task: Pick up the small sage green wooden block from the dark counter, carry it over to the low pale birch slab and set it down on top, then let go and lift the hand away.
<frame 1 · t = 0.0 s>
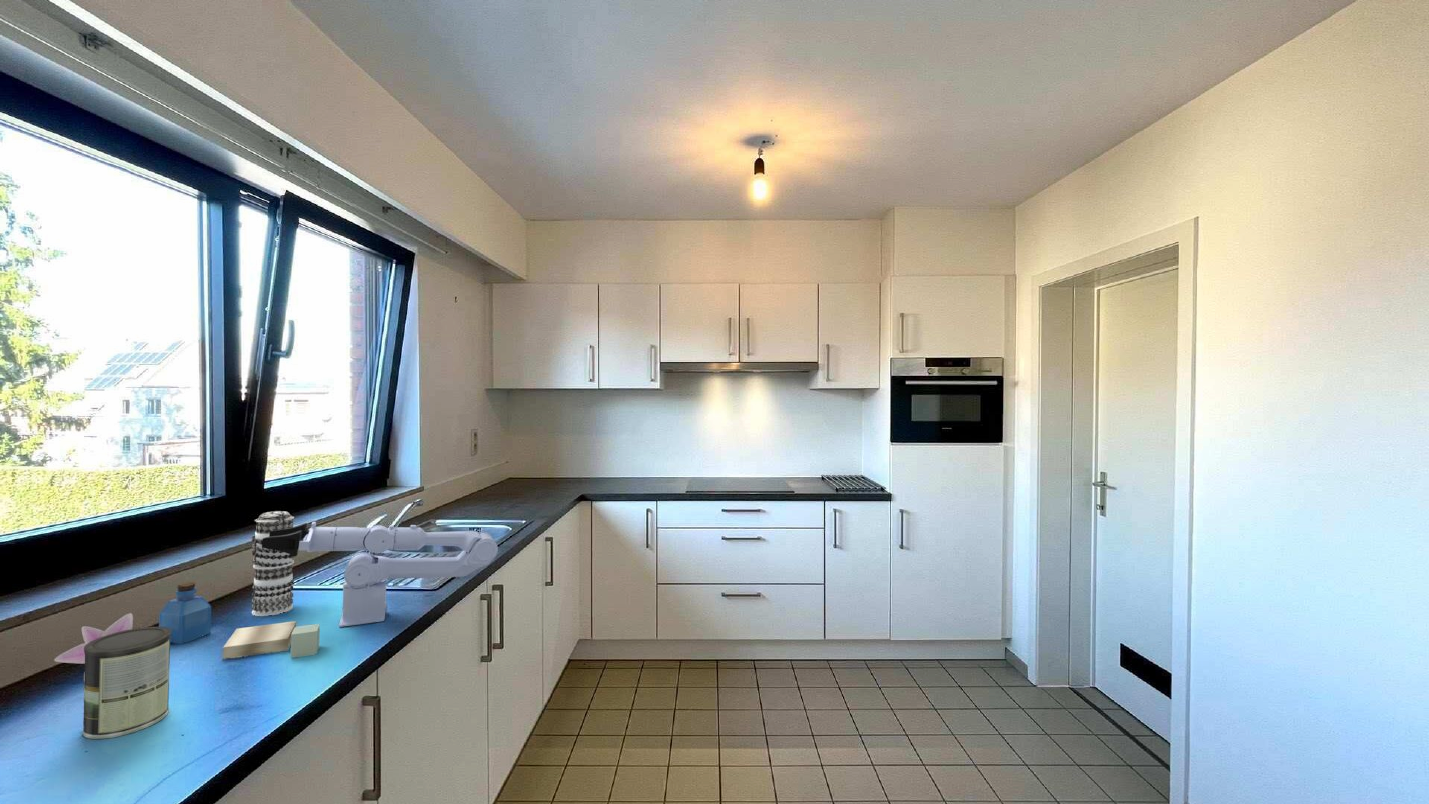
hand: (265, 539, 134), 22 cm above the countertop, tool horizontal, fingers open, 7 cm apart
perfume bottle: (185, 638, 131), on the countertop
sage block: (305, 652, 125), on the countertop
coffee can: (127, 723, 97), on the countertop
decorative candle: (272, 611, 148), on the countertop
birch slab: (261, 647, 128), on the countertop
lily: (106, 673, 114), on the countertop
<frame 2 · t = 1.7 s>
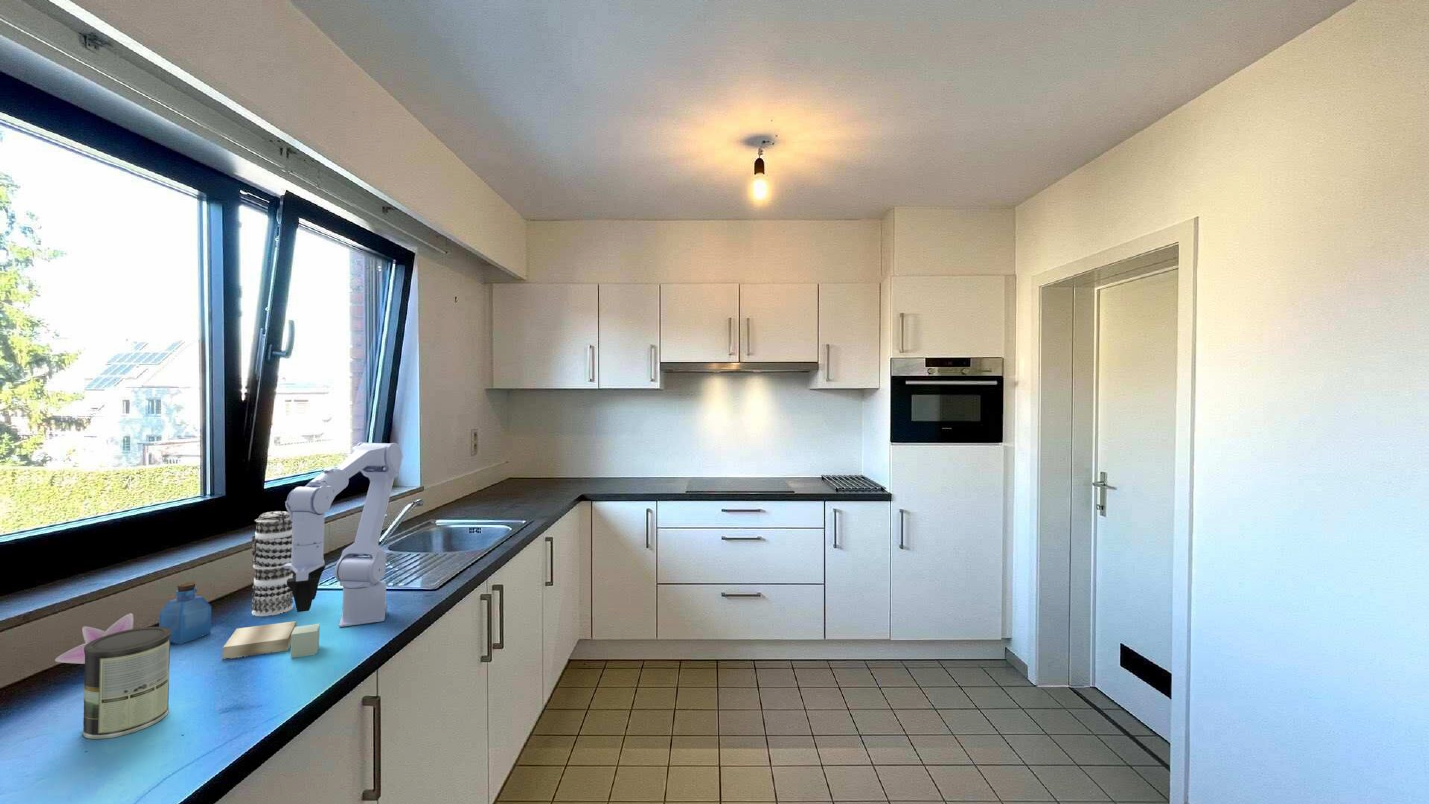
hand: (306, 605, 125), 10 cm above the countertop, tool pointing down, fingers open, 7 cm apart
nothing on the countertop moved.
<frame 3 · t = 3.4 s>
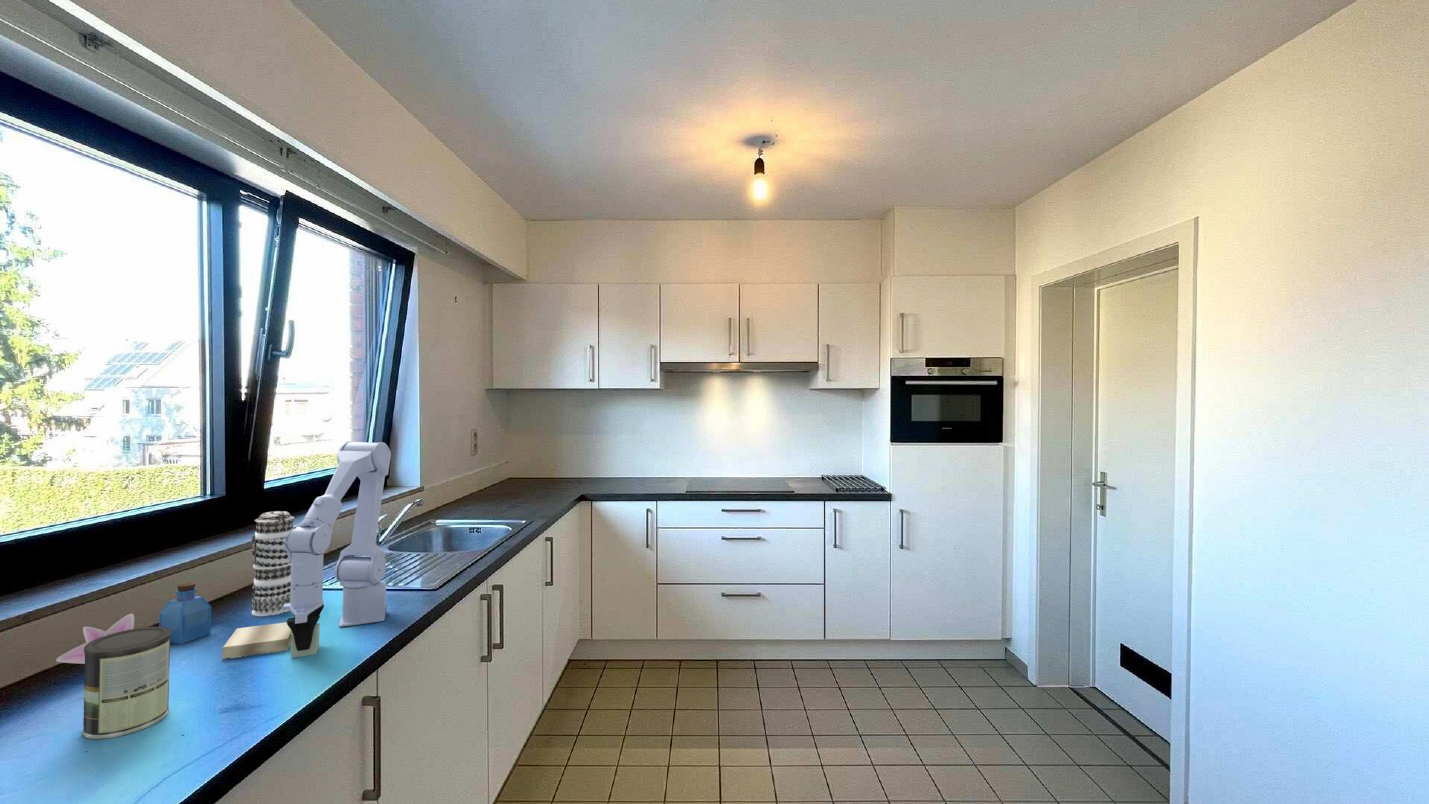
hand: (305, 645, 125), 1 cm above the countertop, tool pointing down, fingers closed on sage block, 4 cm apart
sage block: (305, 651, 125), on the countertop, touching gripper
everything else where it was.
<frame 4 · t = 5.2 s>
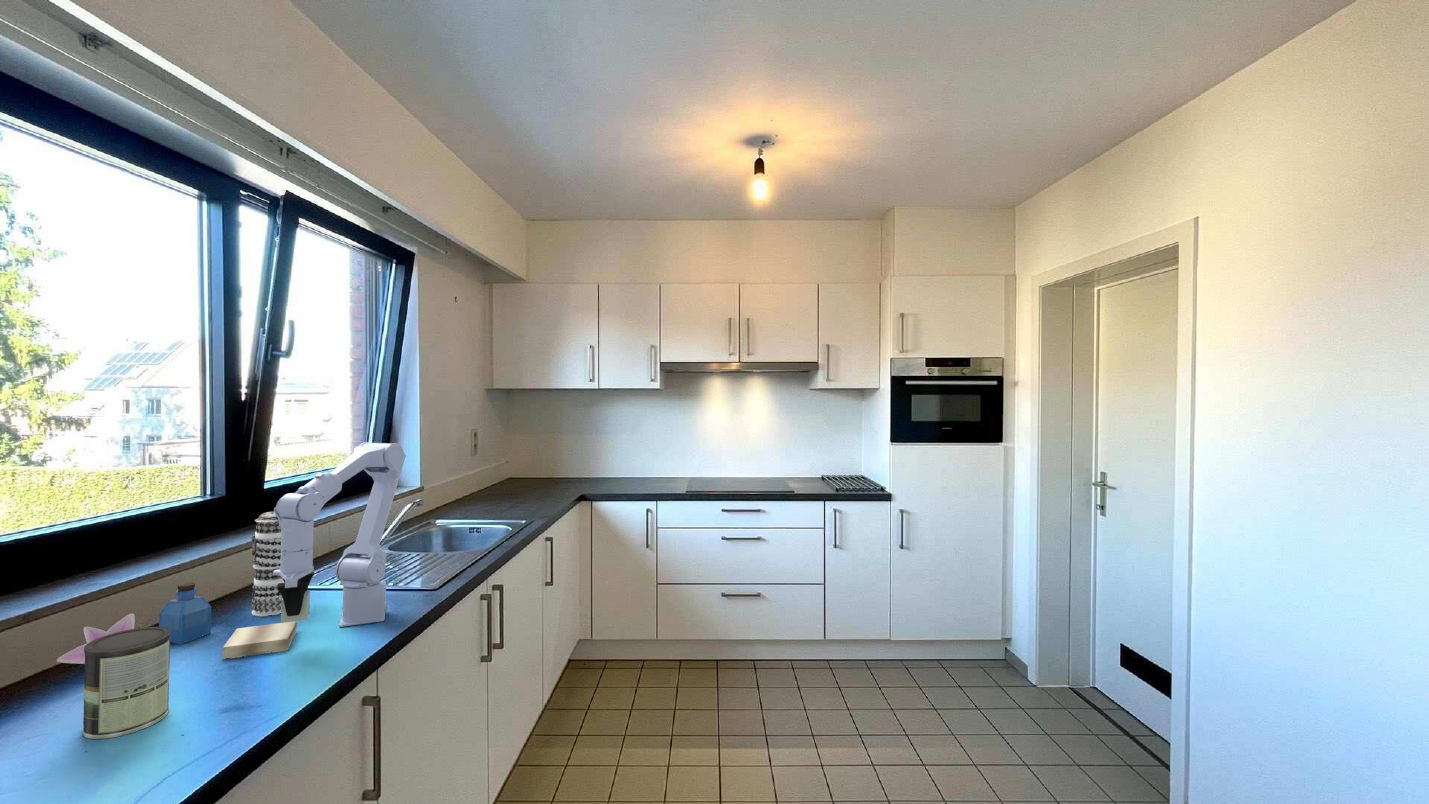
hand: (295, 611, 126), 8 cm above the countertop, tool pointing down, fingers closed on sage block, 4 cm apart
sage block: (295, 618, 126), point 7 cm above the countertop, touching gripper
everything else where it was.
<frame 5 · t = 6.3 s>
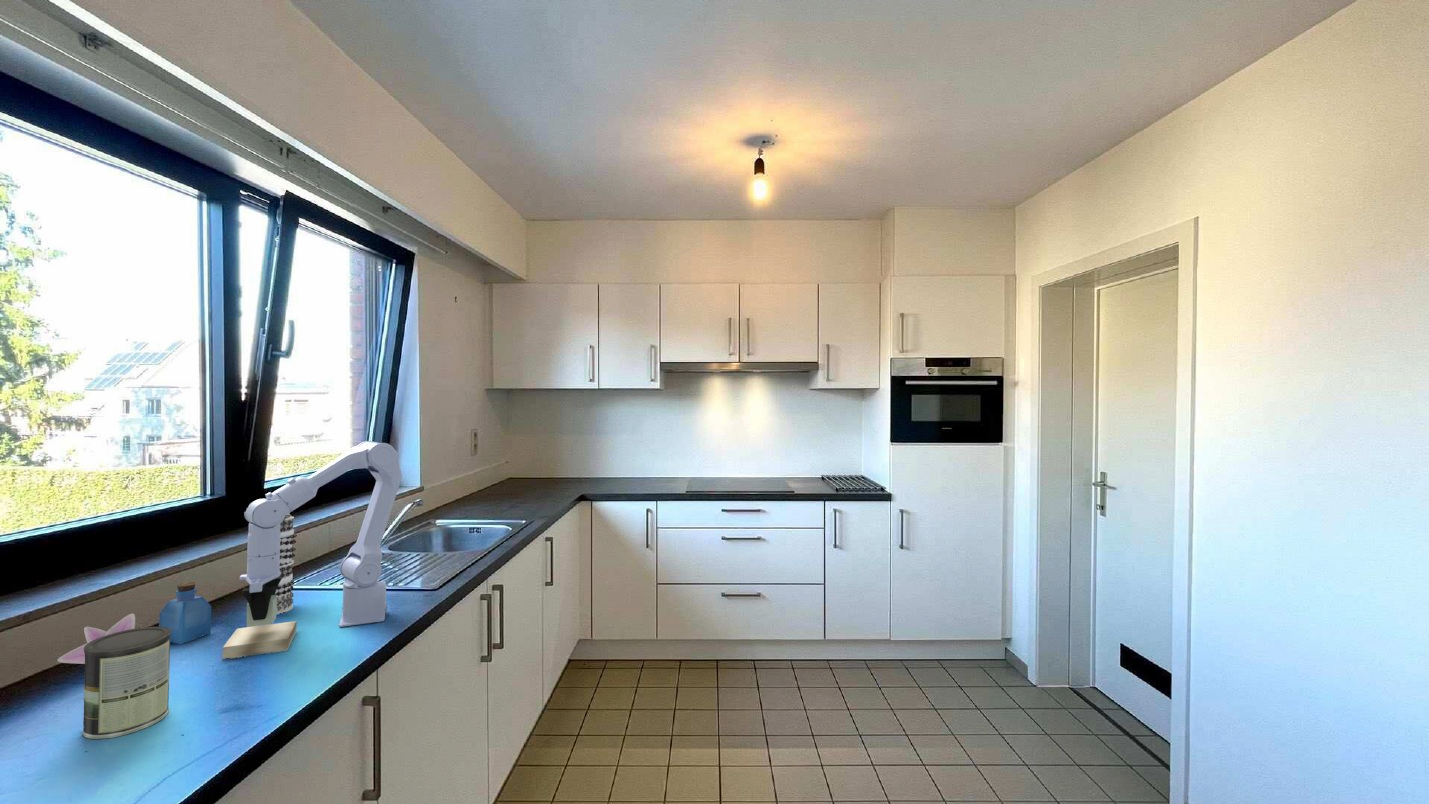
hand: (262, 615, 128), 6 cm above the countertop, tool pointing down, fingers closed on sage block, 4 cm apart
sage block: (261, 621, 128), point 5 cm above the countertop, touching gripper
everything else where it was.
when the fingers open (6 cm above the countertop, at t = 7.3 s): sage block drops 2 cm, resting on birch slab.
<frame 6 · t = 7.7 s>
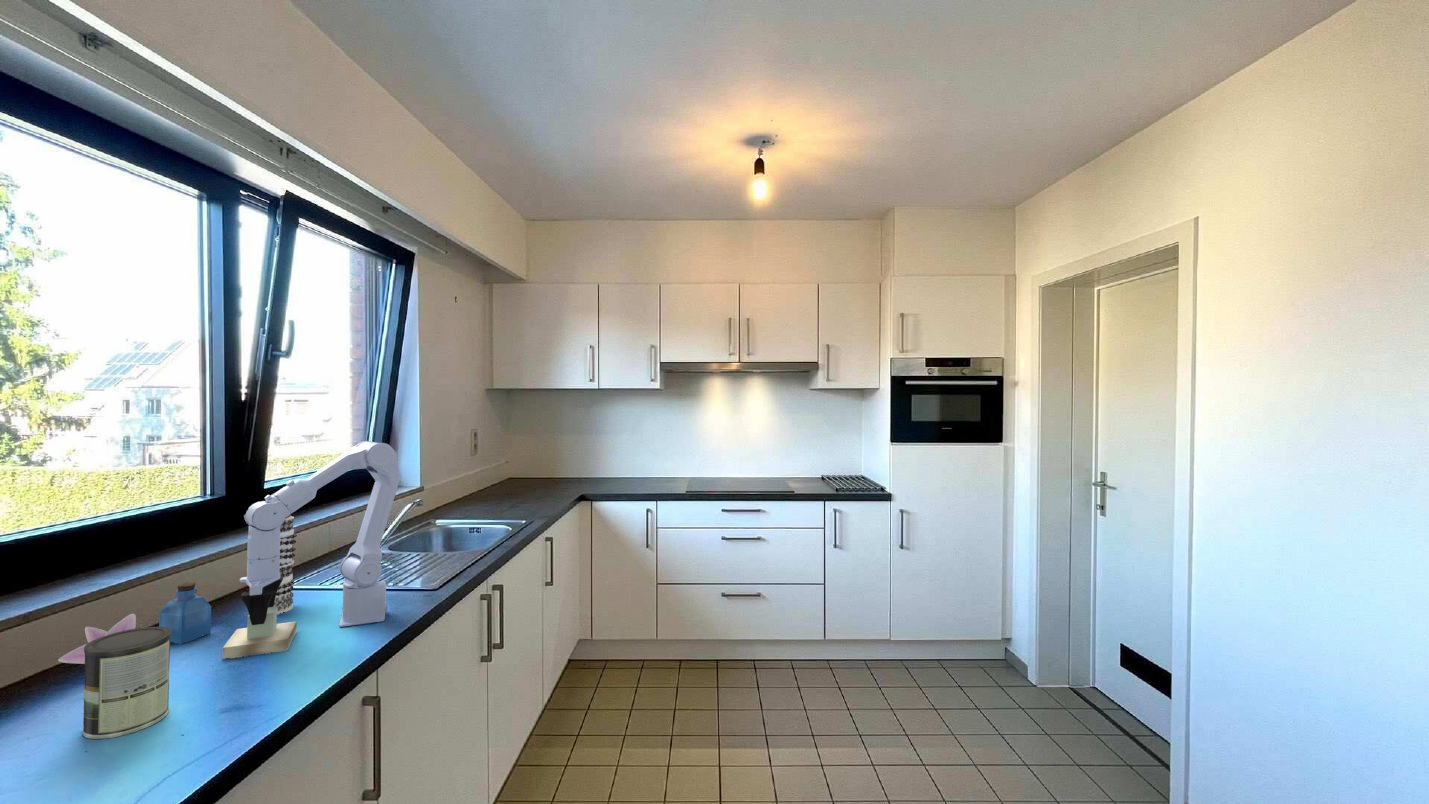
hand: (262, 618, 128), 6 cm above the countertop, tool pointing down, fingers open, 7 cm apart
sage block: (262, 633, 128), point 2 cm above the countertop, touching birch slab
birch slab: (261, 647, 128), on the countertop, touching sage block
everything else where it was.
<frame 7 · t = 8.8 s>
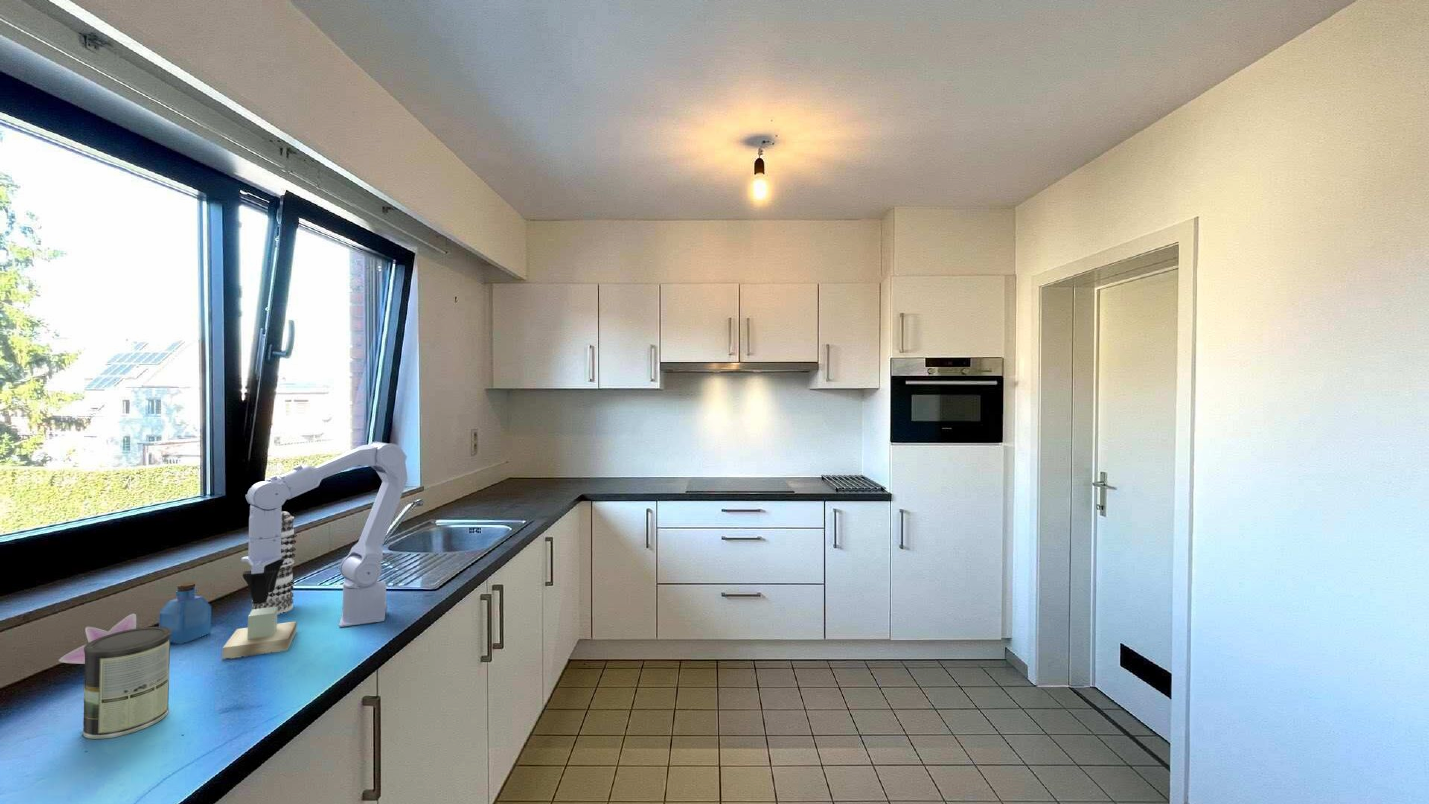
hand: (263, 597, 128), 10 cm above the countertop, tool pointing down, fingers open, 7 cm apart
nothing on the countertop moved.
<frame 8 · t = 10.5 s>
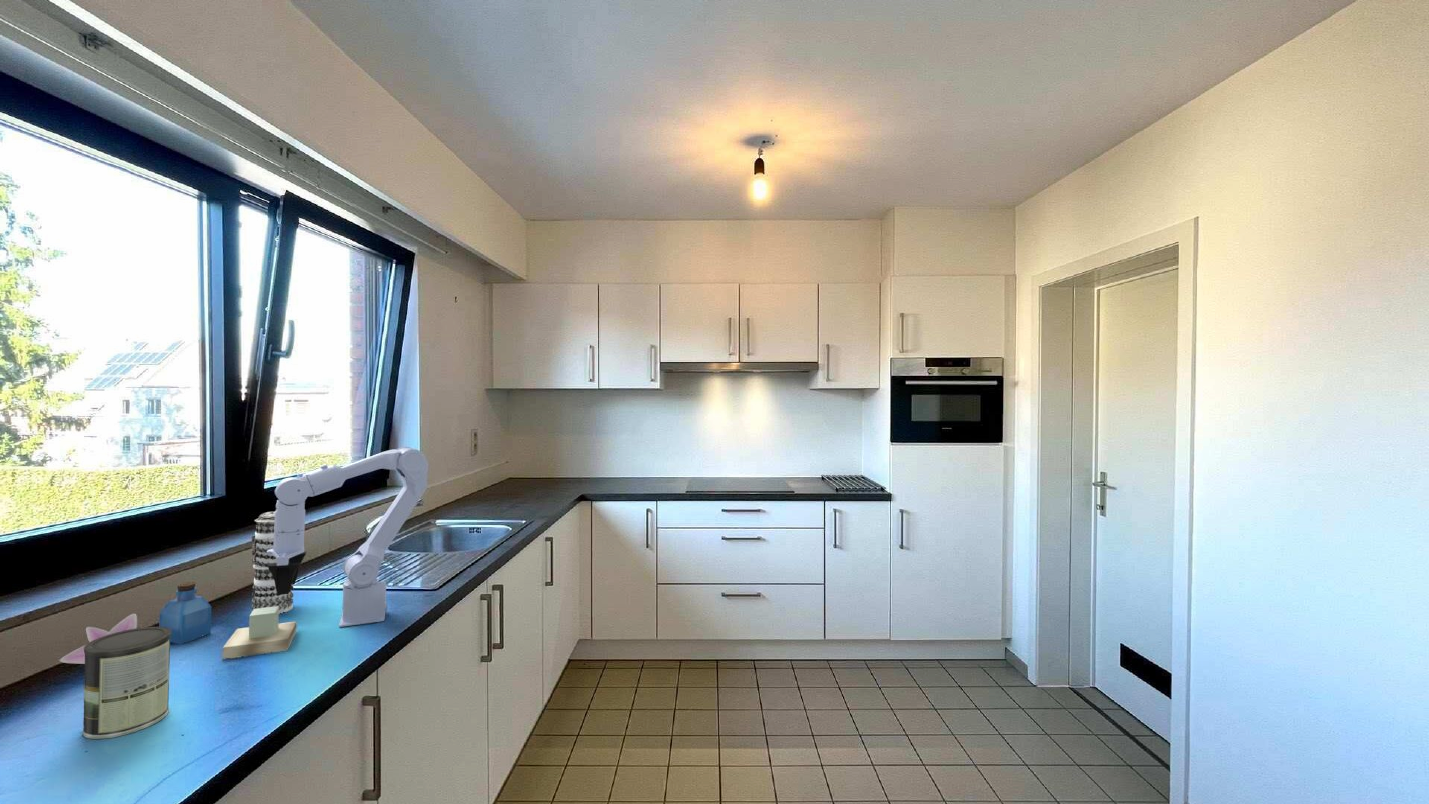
hand: (286, 589, 134), 10 cm above the countertop, tool pointing down, fingers open, 7 cm apart
at the end: sage block 0.3 cm off-centre on the birch slab, point 3.0 cm above the birch slab's base; sage block tilted 0°; the gripper is holding nothing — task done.
